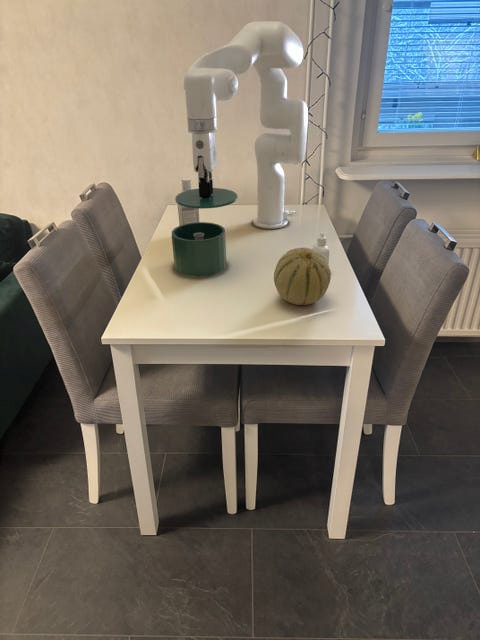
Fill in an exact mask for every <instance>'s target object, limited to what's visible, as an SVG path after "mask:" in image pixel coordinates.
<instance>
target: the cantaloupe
mask: <svg viewBox="0 0 480 640" xmlns="http://www.w3.org/2000/svg"><path fill="white" fill-rule="evenodd" d="M331 273H332V272H331V269H330V265H329V264H327V262H326V259H325V258H324V257H323V255H321V254H320V253H319V252H317V251H315V250H314V249H313V248H311V247H294V248H291V249H290V250H287V252H285V253H283V254H282V256H281V257H280V258H279V259H278V261H277V263H276V265H275V268H274V272H273V282H274V286H275V288H276V291H277V292H278V294H279V296H280V297H281V298H282V299H283V300H285V302H288V303H290V304H293V305H296V306H307V305H312V304H314V303H316V302H318V301H319V300H321V299H322V297H324V296H325V294H326V292H327V291H328V288H329V286H330V283H331V279H332V278H331V277H332V275H331Z"/></svg>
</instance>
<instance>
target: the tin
mask: <svg viewBox="0 0 480 640" xmlns="http://www.w3.org/2000/svg"><path fill="white" fill-rule="evenodd" d="M195 233H204V237H203V239H204V240H195V237H194V235H193V234H195ZM226 239H227V238H226V228H225V227H224V226H222V225H220V224H218V223H214V222H207V221H206V222H205V221H199V222H195V223H188V224H184V225H180V226H179V225H178V226H176V227H174V228H173V229H172V230H171V243H172V253H173V263H174V264H173V265H174V269H175V271H176V272H177V273H179V274H180V275H184V276H187V277H195V278H196V277H208V276H213V275H216V274H219V273H221V272H223V271H224V270H226V267H227V246H226V245H227V244H226V243H227V242H226V241H227V240H226Z"/></svg>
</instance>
